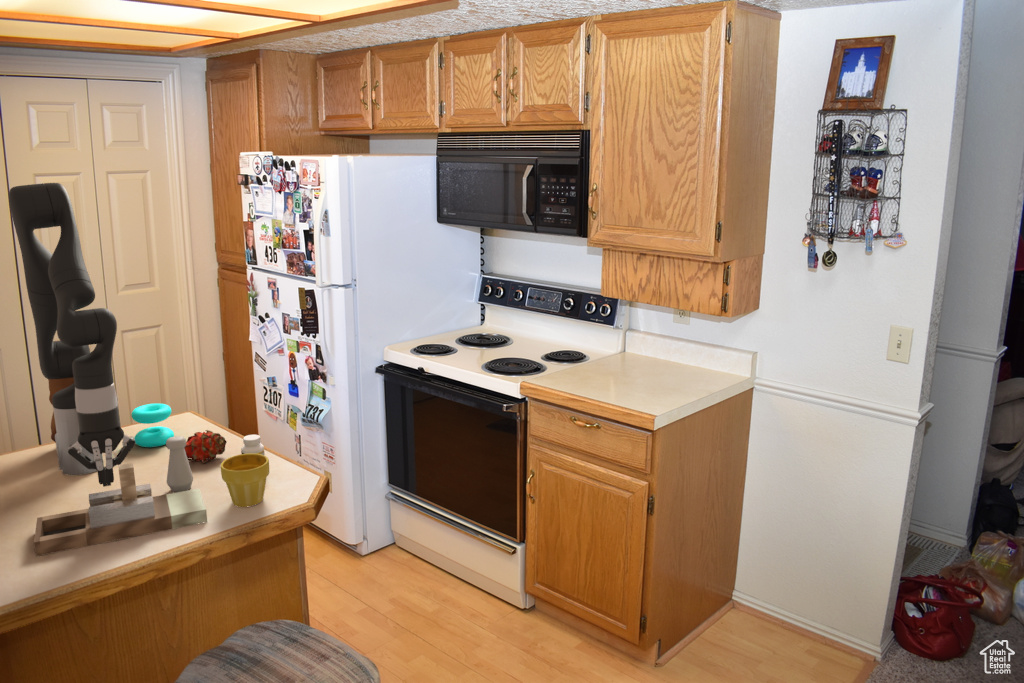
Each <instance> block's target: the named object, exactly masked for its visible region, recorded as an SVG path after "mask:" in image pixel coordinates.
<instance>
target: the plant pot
mask: <svg viewBox="0 0 1024 683" xmlns="http://www.w3.org/2000/svg"><path fill="white" fill-rule="evenodd" d="M220 474H221V478H222V481H223V482H224V483H225V485H226V487H227V489H228V493H229V496H230V498H231V499H230V500H231V502H232V504H233V506H235V507H237V506H238V508H248V507H247V506H251V507H253V506H252V505H254V506H256V505H255V504H257V505H259V504H260V503H261V502H263V500H264V495H265V489H266V482H267V477H268V476H269V474H270V460H269V457H268V456H267V455H265V456H264V455H262V454H255V453H248V454H236V455H232V456H229V457H228V458H226V459H224V460H223V461H222V462H221V463H220ZM258 503H259V504H258Z"/></svg>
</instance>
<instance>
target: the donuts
mask: <svg viewBox="0 0 1024 683" xmlns="http://www.w3.org/2000/svg"><path fill="white" fill-rule="evenodd" d="M171 414H172V408H171V406H170V405H168V404H166V403H148V404H143V405H140V406H138V407H135V408H134V409H133V410H132V412H131V414H130V415H131V418H132V421H135V422H136V423H139V424H144V425H145V424H157V423H160V422H161V423H162V422H163V421H166V420H167V419H168V418H169V417H171ZM174 436H175V433H174V431H173V429H171V428H169V427H166V426H160V425H159V426H157V425H156V426H149V427H147V428H143V429H142V430H140V431H138V432H137V433H136V434H135V435H134V438H135V445H137V446H139V447H142V448H157V447H161V446H164V445H166V441H167V440H168V439H169V438H170V437H174Z"/></svg>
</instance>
